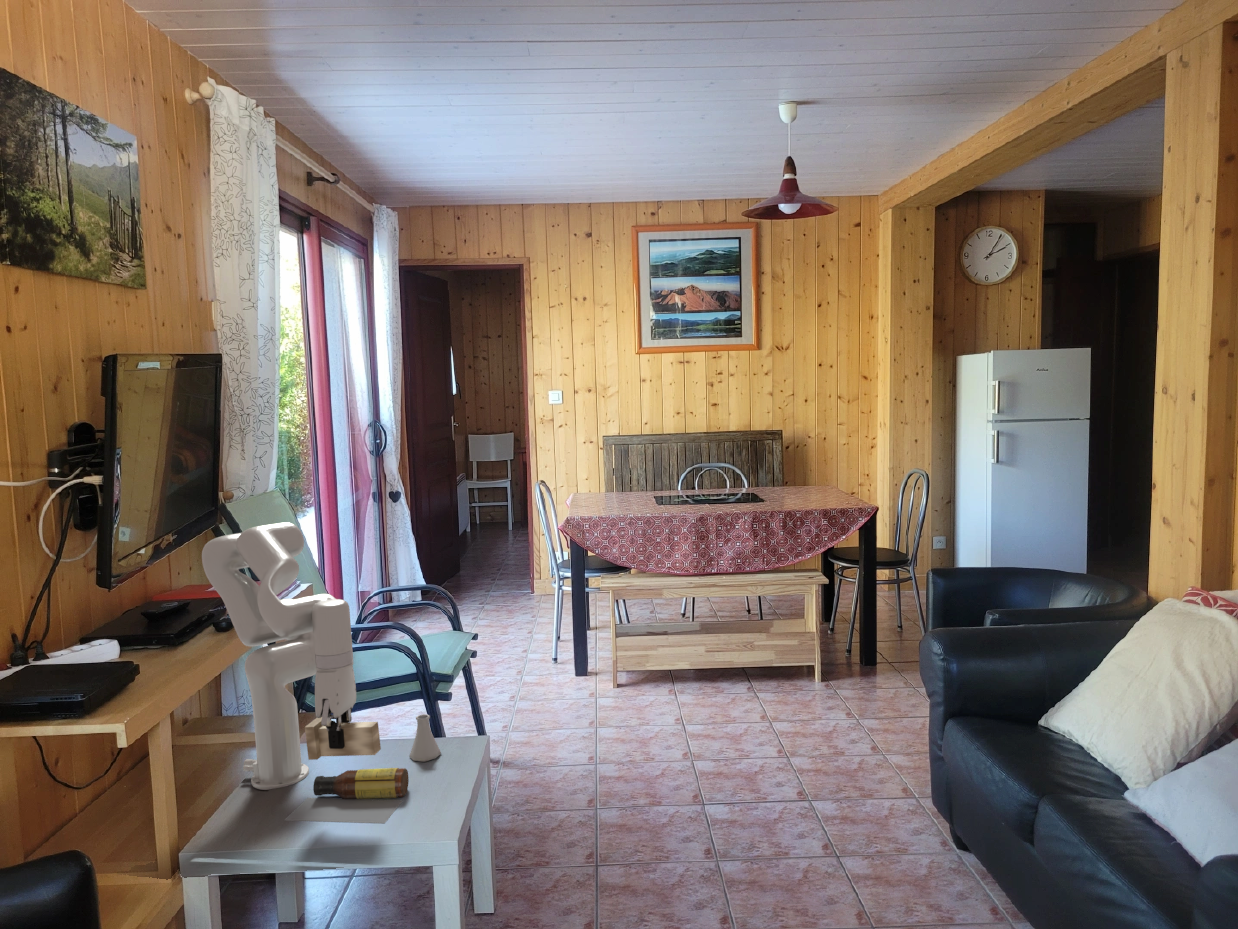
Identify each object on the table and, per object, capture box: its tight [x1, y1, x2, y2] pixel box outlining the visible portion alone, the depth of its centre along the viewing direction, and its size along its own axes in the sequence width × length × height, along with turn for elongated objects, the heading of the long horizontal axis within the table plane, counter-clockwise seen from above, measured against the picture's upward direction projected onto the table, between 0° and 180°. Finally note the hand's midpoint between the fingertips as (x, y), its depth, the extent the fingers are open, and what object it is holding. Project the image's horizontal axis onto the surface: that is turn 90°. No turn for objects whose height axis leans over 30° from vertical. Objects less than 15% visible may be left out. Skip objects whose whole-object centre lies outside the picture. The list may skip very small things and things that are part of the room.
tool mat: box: [284, 797, 404, 824], centre depth 185 cm, size 22×10×1 cm, turn 82°
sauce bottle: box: [312, 767, 409, 800], centre depth 192 cm, size 7×6×20 cm
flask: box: [408, 713, 442, 763], centre depth 212 cm, size 7×7×10 cm
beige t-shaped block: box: [304, 717, 382, 761], centre depth 183 cm, size 14×6×7 cm, turn 82°
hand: (340, 744), depth 184 cm, fingers closed on beige t-shaped block, 2 cm apart
